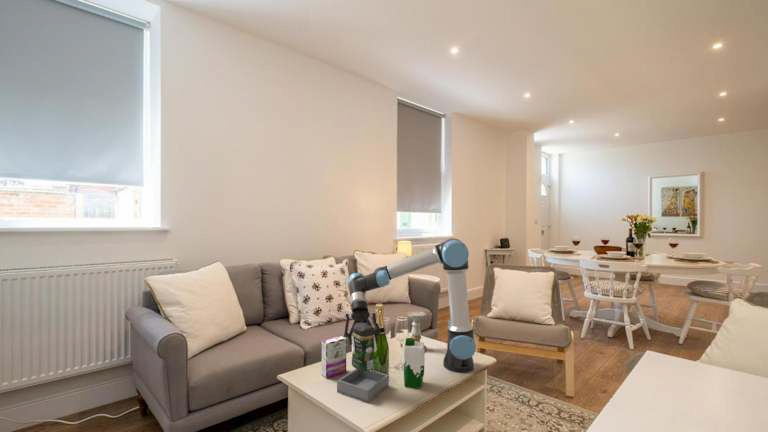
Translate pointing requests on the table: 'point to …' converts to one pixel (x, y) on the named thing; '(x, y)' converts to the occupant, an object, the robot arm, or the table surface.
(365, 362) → the coffee jar
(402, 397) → the table surface
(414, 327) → the candle holder
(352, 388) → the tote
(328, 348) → the candy bar box
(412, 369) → the milk carton
